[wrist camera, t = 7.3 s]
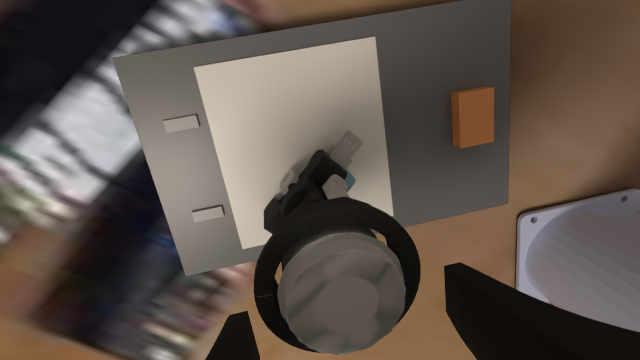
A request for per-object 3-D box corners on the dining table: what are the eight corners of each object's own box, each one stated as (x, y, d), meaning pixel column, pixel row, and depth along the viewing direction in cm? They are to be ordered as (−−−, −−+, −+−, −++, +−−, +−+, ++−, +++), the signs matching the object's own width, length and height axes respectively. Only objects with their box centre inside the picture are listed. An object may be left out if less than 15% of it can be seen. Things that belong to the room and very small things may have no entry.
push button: (314, 101, 18) (369, 140, 9) (387, 161, 20) (500, 248, 10) (237, 200, 19) (214, 330, 10) (313, 249, 21) (355, 401, 11)
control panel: (488, -1, 20) (522, -11, 17) (488, 192, 24) (516, 208, 21) (127, 58, 18) (104, 57, 16) (192, 258, 22) (183, 284, 19)
